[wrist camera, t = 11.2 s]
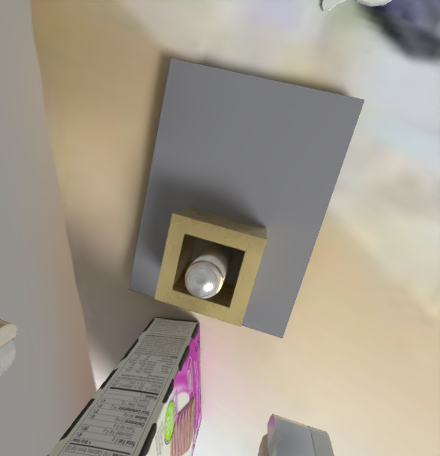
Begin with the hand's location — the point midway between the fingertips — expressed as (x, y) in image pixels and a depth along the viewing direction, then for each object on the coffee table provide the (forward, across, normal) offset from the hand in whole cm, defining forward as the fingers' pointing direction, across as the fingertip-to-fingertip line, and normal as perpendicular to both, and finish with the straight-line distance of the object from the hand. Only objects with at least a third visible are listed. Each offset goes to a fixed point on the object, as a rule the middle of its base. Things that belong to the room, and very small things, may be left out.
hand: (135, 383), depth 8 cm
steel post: (+14, 0, 0) cm, 14 cm away
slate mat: (+16, 0, -4) cm, 16 cm away
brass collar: (+14, 0, 0) cm, 14 cm away
